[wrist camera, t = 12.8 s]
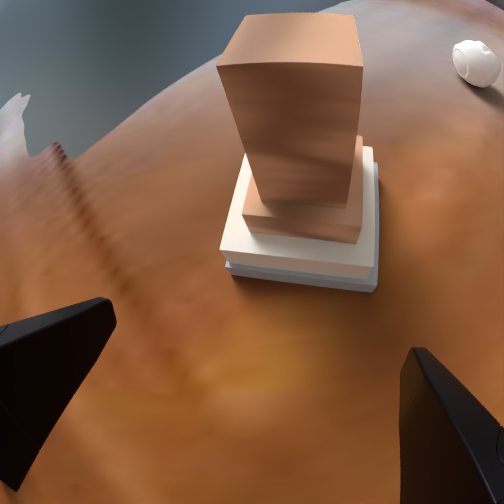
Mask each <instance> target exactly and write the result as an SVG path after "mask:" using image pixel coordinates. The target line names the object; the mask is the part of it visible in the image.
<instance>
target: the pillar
mask: <svg viewBox="0 0 504 504" xmlns="http://www.w3.org/2000/svg"><path fill="white" fill-rule="evenodd" d="M216 67H217V70H218V73H219V76H220V78H221V81H222V84H223V87H224V90H225V93H226V96H227V99H228V102H229V105H230V108H231V111H232V113H233V116H234V119H235V122H236V125H237V128H238V131H239V134H240V137H241V140H242V143H243V146H244V150H245V153H246V156H247V159H248V162H249V165H250V168H251V171H252V173H251V177H250V181H249V185H248V189H247V193H246V197H245V202H244V206H243V210H242V217H243V219H244V221H245V223H246V225H247V228H248V230H249V232H251V233H261V234H270V235H279V236H289V237H298V238H307V239H316V240H324V241H333V242H341V243H350V244H357V241H358V238H359V235H360V232H361V229H362V216H363V145H362V136H357V130H358V121H359V112H360V101H361V90H362V77H363V62H362V56H361V50H360V44H359V39H358V34H357V29H356V24H355V19H354V15H343V14H328V13H275V14H274V13H273V14H258V15H247V16H245V18H244V20H243V21H242V23H241V24H240V26H239V28H238V29H237V31H236V32H235V34H234V36H233V37H232V39H231V41H230V43H229V44H228V46H227V48H226V49H225V51H224V53H223V54H222V56H221V58H220V60H219V62H218V63H217V65H216Z"/></svg>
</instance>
